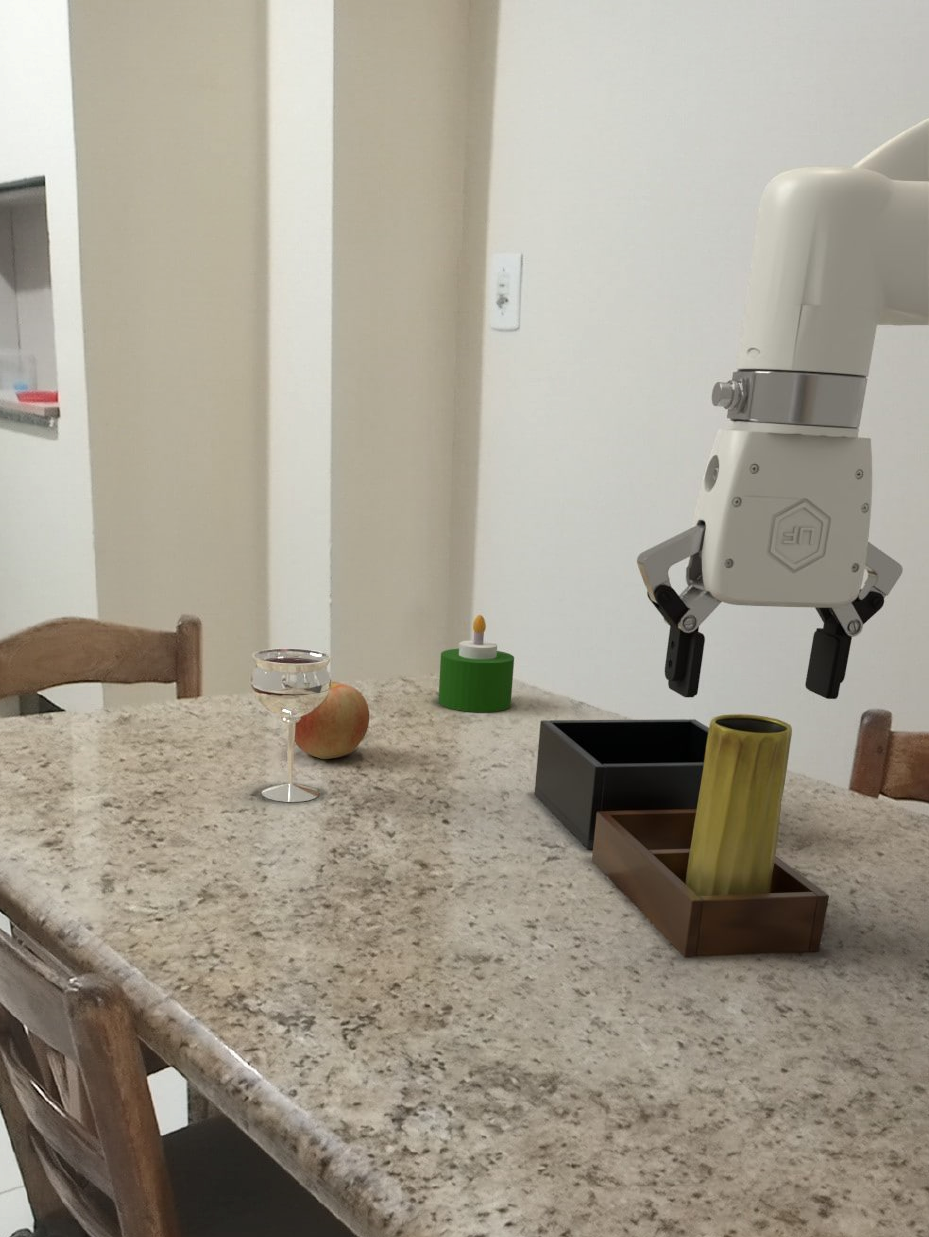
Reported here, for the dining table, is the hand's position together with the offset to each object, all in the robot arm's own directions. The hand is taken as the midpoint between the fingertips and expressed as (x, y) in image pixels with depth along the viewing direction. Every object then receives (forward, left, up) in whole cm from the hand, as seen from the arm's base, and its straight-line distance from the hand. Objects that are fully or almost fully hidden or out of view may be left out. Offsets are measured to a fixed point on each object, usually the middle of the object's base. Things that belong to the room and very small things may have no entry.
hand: (752, 693), depth 83 cm
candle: (+1, -66, -17) cm, 68 cm away
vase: (0, 0, -16) cm, 16 cm away
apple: (+21, -45, -17) cm, 52 cm away
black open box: (-3, -24, -16) cm, 29 cm away
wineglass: (+26, -33, -16) cm, 45 cm away
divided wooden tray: (0, -5, -16) cm, 17 cm away
